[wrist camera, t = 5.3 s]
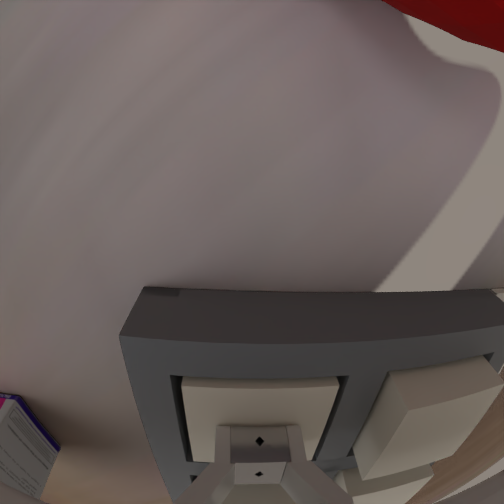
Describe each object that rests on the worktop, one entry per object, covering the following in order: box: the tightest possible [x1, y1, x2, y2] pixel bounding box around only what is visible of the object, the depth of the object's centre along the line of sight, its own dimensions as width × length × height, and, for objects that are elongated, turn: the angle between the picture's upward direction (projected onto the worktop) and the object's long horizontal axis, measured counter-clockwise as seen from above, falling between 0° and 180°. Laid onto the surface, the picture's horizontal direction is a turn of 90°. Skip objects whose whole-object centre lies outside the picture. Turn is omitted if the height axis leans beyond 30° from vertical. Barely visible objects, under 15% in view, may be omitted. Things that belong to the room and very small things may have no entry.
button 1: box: [333, 464, 434, 504], centre depth 13 cm, size 5×5×2 cm
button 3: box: [197, 475, 296, 504], centre depth 12 cm, size 5×5×2 cm
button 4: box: [181, 376, 339, 463], centre depth 11 cm, size 5×5×2 cm
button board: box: [119, 287, 504, 503], centre depth 13 cm, size 16×20×3 cm
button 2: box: [352, 355, 504, 481], centre depth 10 cm, size 5×5×2 cm
